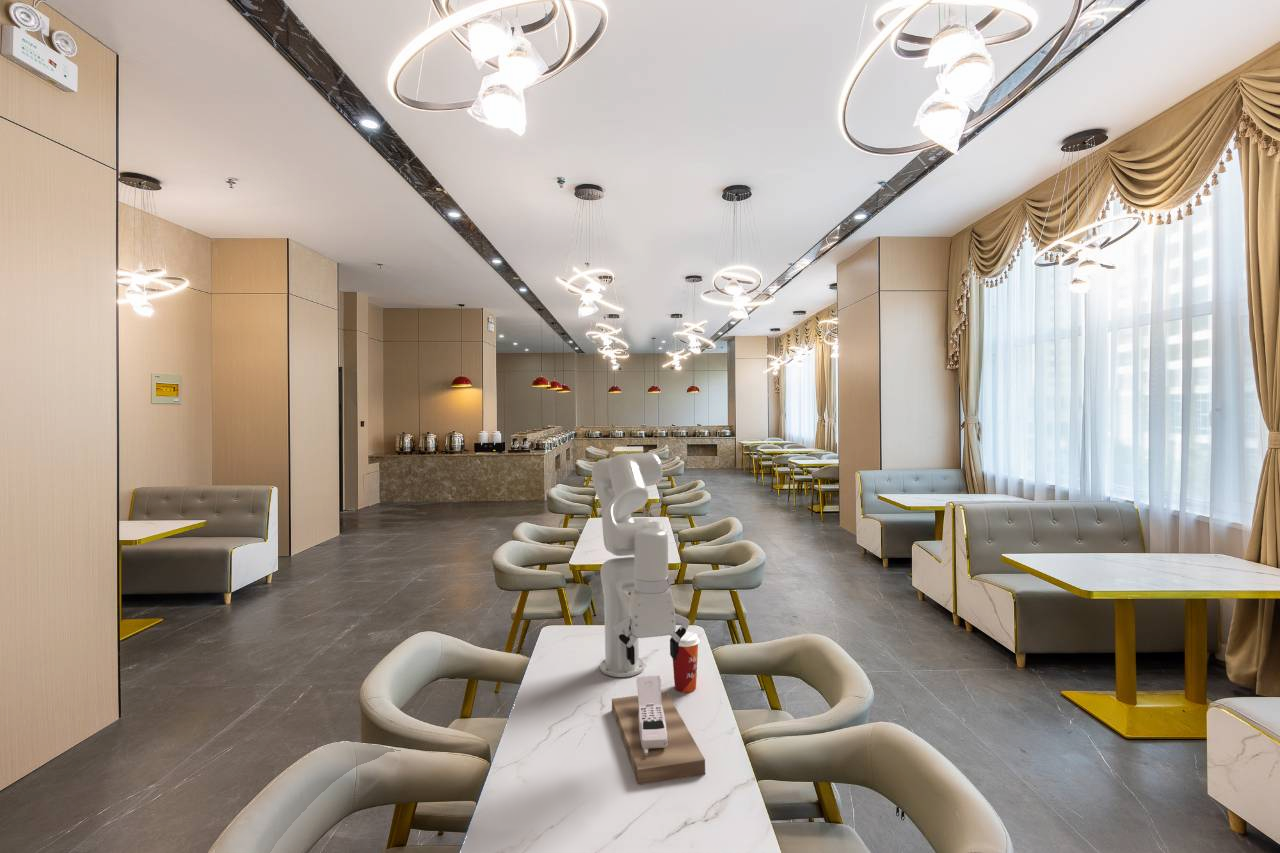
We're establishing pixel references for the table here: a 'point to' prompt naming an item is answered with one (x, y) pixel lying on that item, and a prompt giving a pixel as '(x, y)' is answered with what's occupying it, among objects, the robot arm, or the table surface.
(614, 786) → the table surface
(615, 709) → the walnut stand
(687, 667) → the paper cup
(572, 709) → the table surface
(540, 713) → the table surface
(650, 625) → the robot arm
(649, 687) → the mobile phone
